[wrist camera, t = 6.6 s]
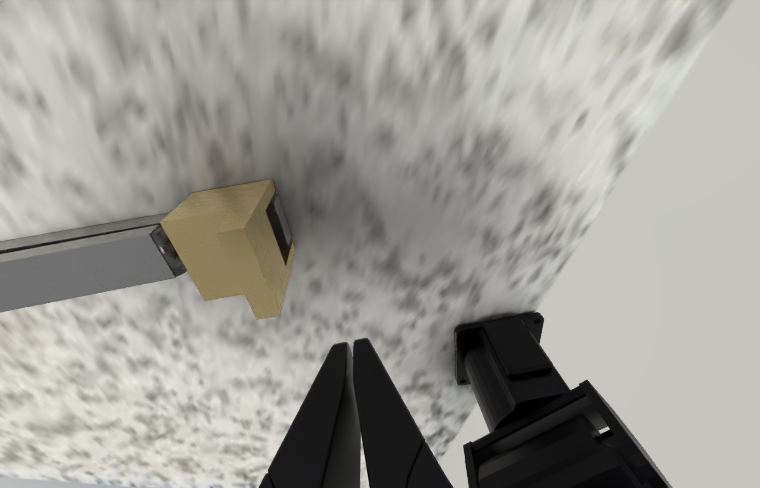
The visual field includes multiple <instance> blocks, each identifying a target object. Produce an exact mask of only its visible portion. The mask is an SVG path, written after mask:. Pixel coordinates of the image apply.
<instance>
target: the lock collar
mask: <svg viewBox="0 0 760 488" xmlns="http://www.w3.org/2000/svg"><path fill="white" fill-rule="evenodd" d="M274 192H275V188H274V185H273V182H272V179H271V180H265V181H259V182H253V183H247V184H241V185H235V186H229V187H223V188H218V189H212V190H206V191H200V192H194V193H192V194H191V195H189V196H188V197H187V198H186V199H185V200H184V201H183V202H182V203H181V204H179V205H178V206H177V207H176V208H175V209H174V210H173V211H172V212H171V213H169V214H168V215H167V216H166V217H165V218H164V219H163V220H162V221H161V222H160V224H161V226H162V227H163V229H164V231H165V233H166V234H167V236H168V238H169V240H170V241H171V243H172V245H173V246H174V248H175V250H176V252H177V253H178V255H179V257H180V259H181V260H182V262H183V264H184V266H185V267H186V269H187V271H188V273H189V274H190V276H191V278H192V280H193V281H194V283H195V285H196V287H197V288H198V290H199V292H200V294H201V295H202V297H203V299H204V300H205V301H207V300H213V299H218V298H224V297H229V296H235V295H241V294H245V295H246V297H247V300H248V302H249V304H250V306H251V308H252V310H253V312H254V314H255V316H256V318H257V319H263V318H268V317H274V316H280V314H281V310H282V305H283V301H284V297H285V293H286V289H287V284H288V280H289V276H290V272H291V267H292V263H293V259H294V255H295V247H294V244H293V242H290V243H289V246H287V247H281V248H279V247H278V244H277V241H276V238H275V236H274V233H273V230H272V228H271V225H270V222H269V219H268V217H267V214H266V209H267V207H268V205H269V202H270V200H271V198H272V196H273V194H274Z"/></svg>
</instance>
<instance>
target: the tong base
mask: <svg viewBox="0 0 760 488" xmlns="http://www.w3.org/2000/svg"><path fill="white" fill-rule="evenodd" d="M168 214H169V213H166V214H160V215H154V216H148V217H142V218H137V219H131V220H125V221H119V222H113V223H107V224H101V225H96V226H90V227H84V228H78V229H72V230H66V231H60V232H54V233H49V234H43V235H37V236H31V237H25V238H19V239H13V240H8V241H2V242H0V254H4V253H10V252H15V251H21V250H26V249H31V248H37V247H42V246H47V245H53V244H58V243H63V242H69V241H74V240H79V239H85V238H90V237H96V236H101V235H106V234H112V233H117V232H122V231H128V230H133V229H138V228H144V227H149V226H154V225H160V226H161V224H160V222H161V221H162V220H163V219H164V218H165V217H166V216H167V215H168ZM266 214H267V217H268V219H269V222H270V225H271V228H272V230H273V233H274V236H275V238H276V241H277V244H278V247H279V248H281V247H287V246H289V243H290V239H291V232H290V229H289V226H288V223H287V220H286V217H285V214H284V211H283V208H282V205H281V202H280V199H279V196H278V194H277V195H273V196H272V198H271V200H270V202H269V205H268V207H267V209H266Z"/></svg>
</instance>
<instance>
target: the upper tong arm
mask: <svg viewBox="0 0 760 488" xmlns="http://www.w3.org/2000/svg"><path fill="white" fill-rule="evenodd" d="M186 271H187V269H186V267H185V266H184V264H183V262H182V260H181V259H180V257H179V255H178V253H177V252H176V250H175V248H174V246H173V245H172V243H171V241H170V240H169V238H168V236H167V234H166V233H165V231H164V229H163V227H162V226H160V225H154V226H149V227H144V228H138V229H133V230H128V231H122V232H117V233H112V234H106V235H101V236H96V237H90V238H85V239H79V240H74V241H69V242H63V243H58V244H53V245H47V246H42V247H37V248H31V249H26V250H21V251H15V252H10V253H4V254H0V312H4V311H10V310H15V309H20V308H25V307H30V306H35V305H40V304H45V303H50V302H55V301H60V300H65V299H70V298H76V297H81V296H86V295H91V294H96V293H101V292H106V291H111V290H116V289H121V288H126V287H131V286H136V285H142V284H147V283H152V282H157V281H162V280H167V279H172V278H176V276H179V275H181V274H183V273H185V272H186Z"/></svg>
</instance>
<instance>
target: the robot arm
mask: <svg viewBox="0 0 760 488" xmlns="http://www.w3.org/2000/svg"><path fill="white" fill-rule="evenodd" d="M543 323H544V318H543V316H542V315H541V314H540V313H538V312H535V313H529V314H524V315H518V316H513V317H507V318H502V319H496V320H491V321H485V322H480V323H474V324H469V325H463V326H459V327H458V328H456V330H455V377H456V381H457V384H458V385H467V384H471V386H472V389H473V391H474V394H475V396H476V399H477V402H478V404H479V406H480V409H481V411H482V414H483V417H484V419H485V422H486V424H487V427H488V429H489V432H490V433H489V434H488V435H486V436H484V437H482V438H480V439H478V440H476V441H474V442H469V443H467V444H465V445H463V448H464V454H465V463H466V470H467V477H468V484H469V488H672V486H671V485H670V484H669V482H668V481H667V480H666V478H665V477H664V476H663V474H662V473H661V472H660V470H659V469H658V467H657V466H656V465H655V463H654V462H653V461H652V459H651V458H650V457H649V455H648V454H647V452H646V451H645V450H644V448H643V447H642V446H641V444H640V443H639V442H638V441H637V439H636V438H635V437H634V435H633V434H632V433H631V432H630V431H629V429H628V428H627V427H626V425H625V424H624V423H623V421H622V420H621V419H620V418H619V416H618V415H617V414H616V413H615V411H614V410H613V409H612V408H611V407H610V405H609V404H608V403H607V402H606V401H605V400H604V398H603V397H602V396H601V395H600V394H599V393H598V391H597V390H596V389H595V388H594V387H593V386H592V385H591V383H590V382H589V381H588V380H585V381H584V382H582V383H580V384H579V385H580V386H578V387H576V388H574V389H572V390H570V389H569V388H568V386H567V385H566V383H565V382H564V380H563V379H562V377H561V376H560V374H559V373H558V371H557V370H556V369H555V367H554V366H553V364H552V362H551V361H550V359H549V357H548V356H547V355H546V353H545V352H544V350H543V349H542V347H541V346H540V345H539V343H540V338H541V333H542V328H543ZM607 426H608V427H609V428H610V430H608V431H606V432H604V433H602V434H600V433H599V430H601V429H603V428H605V427H607ZM361 436H362V442H363V448H364V455H365V461H366V467H367V474H368V480H369V486H370V488H453V486H452V485H451V483H450V482H449V480H448V479H447V477H446V475H445V474H444V472H443V470H442V469H441V467H440V465H439V464H438V462H437V460H436V459H435V457H434V455H433V453H432V451H431V450H430V448H429V446H428V444H427V443H426V442H425V439H424V437H423V436H422V434H421V432H420V430H419V428H418V427H417V425H416V423H415V421H414V419H413V418H412V416H411V414H410V412H409V410H408V409H407V407H406V405H405V403H404V401H403V400H402V398H401V396H400V394H399V393H398V391H397V389H396V387H395V385H394V384H393V382H392V380H391V378H390V376H389V375H388V373H387V371H386V369H385V367H384V366H383V364H382V362H381V360H380V358H379V357H378V355H377V353H376V351H375V349H374V348H373V346H372V344H371V342H370V340H369V339H368V338H363V339H358V340H355V341H354V346H353V356H352V353H351V350H350V347H349V344H348V343H347V342H343V343H338V344H334V345H333V346H332V348H331V350H330V351H329V353H328V355H327V357H326V359H325V361H324V363H323V365H322V367H321V369H320V371H319V373H318V375H317V376H316V378H315V380H314V382H313V384H312V386H311V388H310V390H309V392H308V394H307V396H306V398H305V400H304V401H303V403H302V405H301V407H300V409H299V411H298V413H297V415H296V417H295V419H294V421H293V423H292V425H291V426H290V428H289V430H288V432H287V434H286V436H285V438H284V440H283V442H282V444H281V446H280V448H279V449H278V451H277V453H276V455H275V457H274V459H273V461H272V463H271V465H270V467H269V469H268V473H269V474H268V473H266V474H265V476H264V478H263V480H262V482H261V484H260V486H259V488H360V449H361Z"/></svg>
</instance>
